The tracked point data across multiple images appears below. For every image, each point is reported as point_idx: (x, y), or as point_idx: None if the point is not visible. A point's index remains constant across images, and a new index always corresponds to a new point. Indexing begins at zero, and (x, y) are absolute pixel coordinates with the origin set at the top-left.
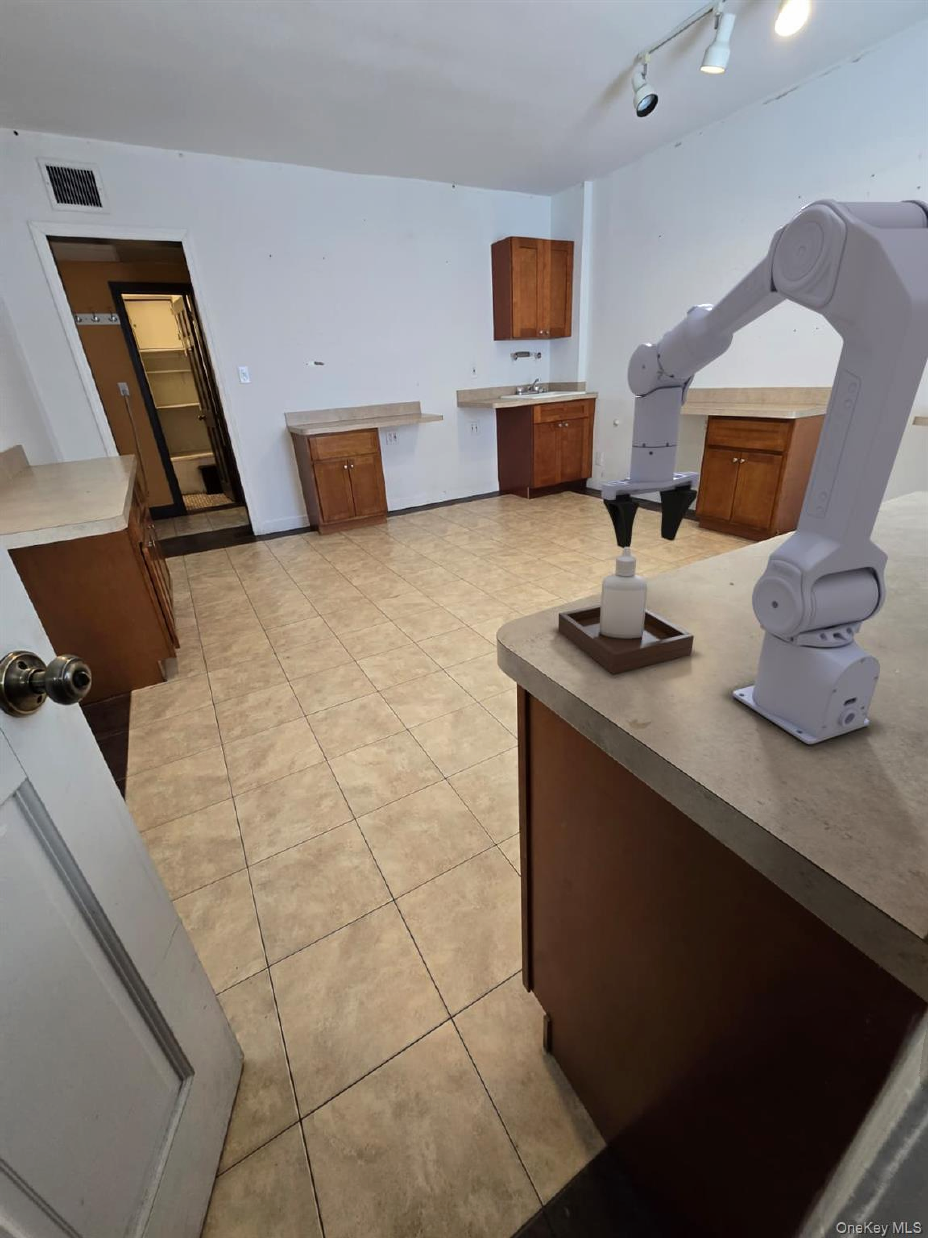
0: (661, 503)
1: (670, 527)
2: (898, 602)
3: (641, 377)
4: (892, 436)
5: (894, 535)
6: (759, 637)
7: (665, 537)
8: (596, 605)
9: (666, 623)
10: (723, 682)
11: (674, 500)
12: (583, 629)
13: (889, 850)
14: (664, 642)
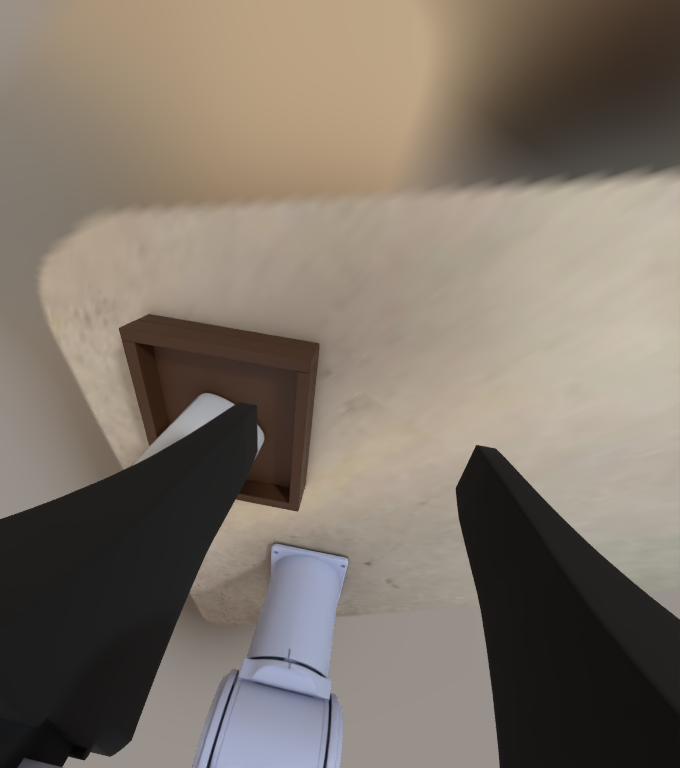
0: (588, 608)
1: (476, 531)
2: None
3: None
4: None
5: None
6: (430, 509)
7: (468, 469)
8: (219, 346)
9: (292, 472)
10: (288, 528)
11: (534, 736)
12: (144, 412)
13: (237, 618)
14: (244, 500)
